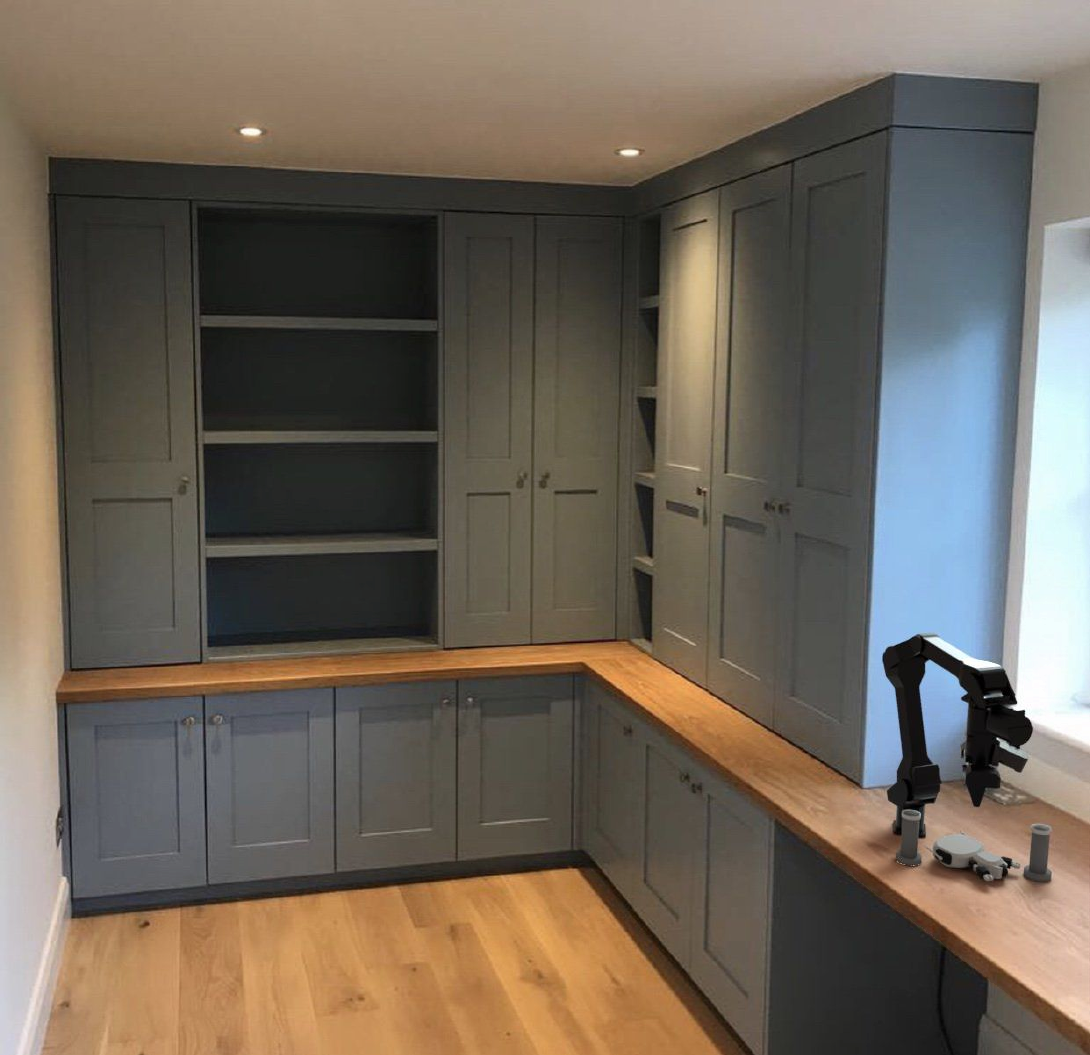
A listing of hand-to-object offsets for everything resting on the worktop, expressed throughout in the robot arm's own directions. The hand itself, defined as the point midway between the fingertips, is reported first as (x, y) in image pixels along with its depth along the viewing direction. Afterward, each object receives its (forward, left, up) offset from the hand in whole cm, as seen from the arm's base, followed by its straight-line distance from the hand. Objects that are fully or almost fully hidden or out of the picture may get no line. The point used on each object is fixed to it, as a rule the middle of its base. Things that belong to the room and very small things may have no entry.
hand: (976, 806), depth 240 cm
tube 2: (0, +12, -13) cm, 18 cm away
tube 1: (0, -12, -13) cm, 18 cm away
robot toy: (0, 0, -13) cm, 13 cm away
